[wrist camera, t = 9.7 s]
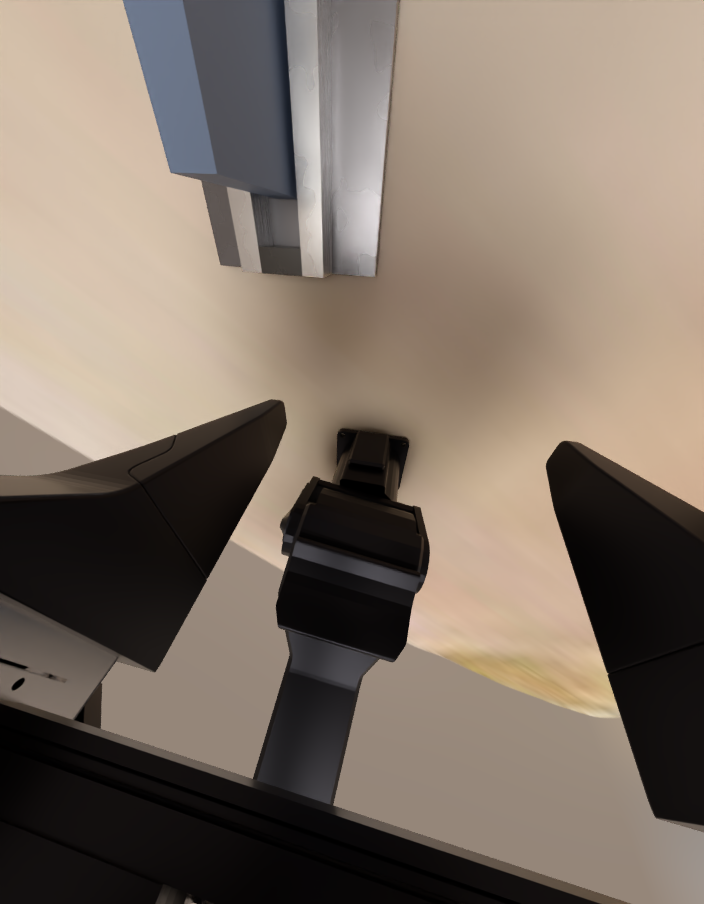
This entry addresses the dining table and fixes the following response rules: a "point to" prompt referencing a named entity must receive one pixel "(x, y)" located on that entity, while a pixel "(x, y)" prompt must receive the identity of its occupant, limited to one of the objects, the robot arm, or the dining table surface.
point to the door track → (322, 149)
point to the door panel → (220, 89)
